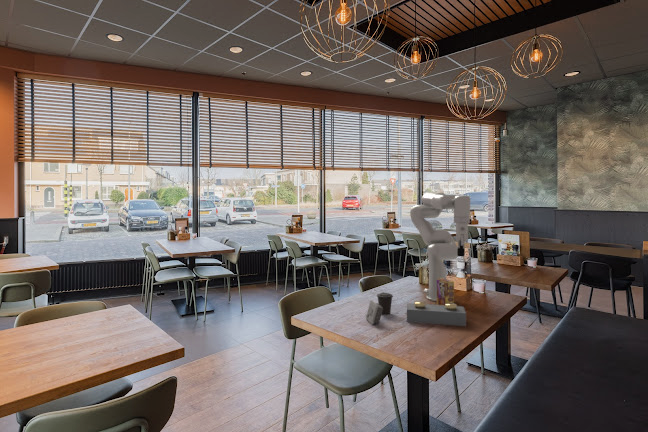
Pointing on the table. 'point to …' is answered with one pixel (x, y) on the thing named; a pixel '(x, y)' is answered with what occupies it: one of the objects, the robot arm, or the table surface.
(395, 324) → the table surface
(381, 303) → the coffee cup
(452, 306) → the knob
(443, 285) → the candy box
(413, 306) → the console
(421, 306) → the knob
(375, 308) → the electrical switch
